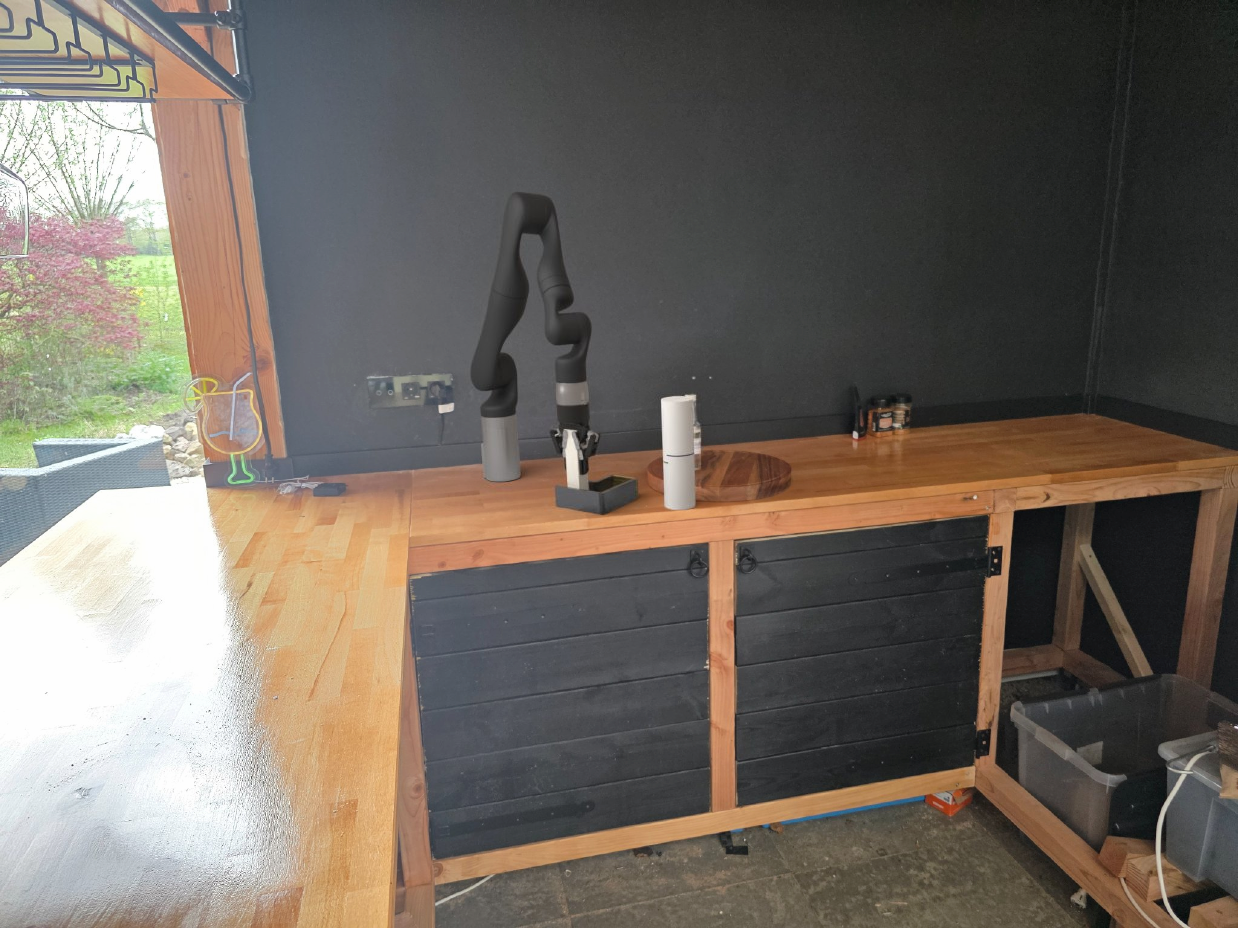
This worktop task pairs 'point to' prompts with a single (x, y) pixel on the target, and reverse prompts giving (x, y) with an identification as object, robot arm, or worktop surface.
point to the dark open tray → (599, 495)
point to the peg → (574, 465)
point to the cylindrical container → (678, 452)
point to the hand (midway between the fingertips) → (577, 472)
